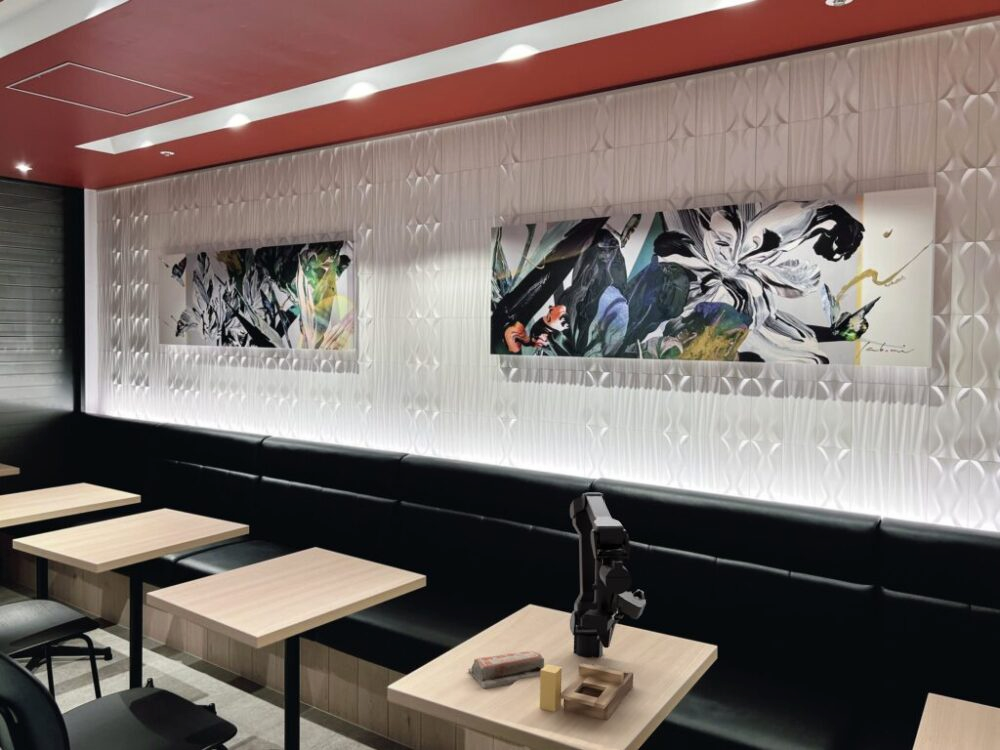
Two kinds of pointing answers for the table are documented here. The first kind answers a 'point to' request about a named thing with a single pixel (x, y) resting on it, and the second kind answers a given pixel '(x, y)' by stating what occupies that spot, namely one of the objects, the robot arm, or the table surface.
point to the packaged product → (506, 668)
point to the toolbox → (594, 692)
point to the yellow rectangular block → (550, 687)
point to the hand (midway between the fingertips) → (606, 647)
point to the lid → (594, 685)
